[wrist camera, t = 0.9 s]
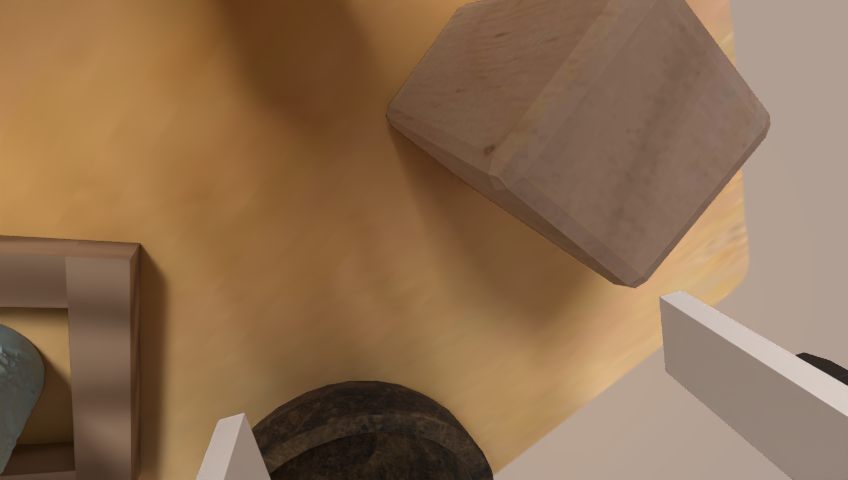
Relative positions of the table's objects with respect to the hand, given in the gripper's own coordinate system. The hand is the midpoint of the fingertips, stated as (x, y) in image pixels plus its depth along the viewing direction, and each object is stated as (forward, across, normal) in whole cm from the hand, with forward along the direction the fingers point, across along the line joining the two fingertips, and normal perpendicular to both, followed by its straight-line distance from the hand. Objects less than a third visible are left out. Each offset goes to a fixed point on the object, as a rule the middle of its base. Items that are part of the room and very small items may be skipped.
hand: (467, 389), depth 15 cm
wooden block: (+26, +8, +7) cm, 27 cm away
